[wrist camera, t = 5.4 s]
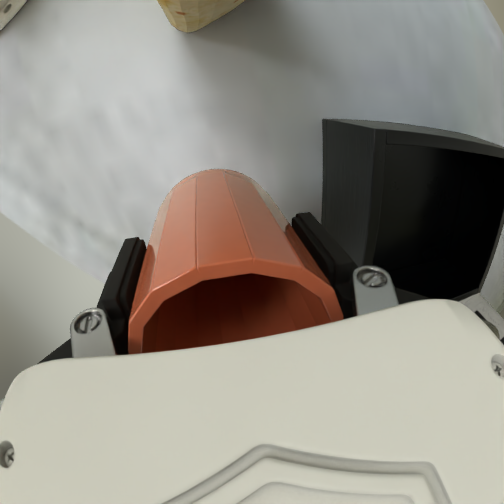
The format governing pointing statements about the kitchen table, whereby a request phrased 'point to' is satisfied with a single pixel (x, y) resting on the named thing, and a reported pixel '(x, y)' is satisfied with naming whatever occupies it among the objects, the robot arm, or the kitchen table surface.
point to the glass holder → (485, 312)
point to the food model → (196, 12)
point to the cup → (224, 270)
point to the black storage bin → (414, 203)
